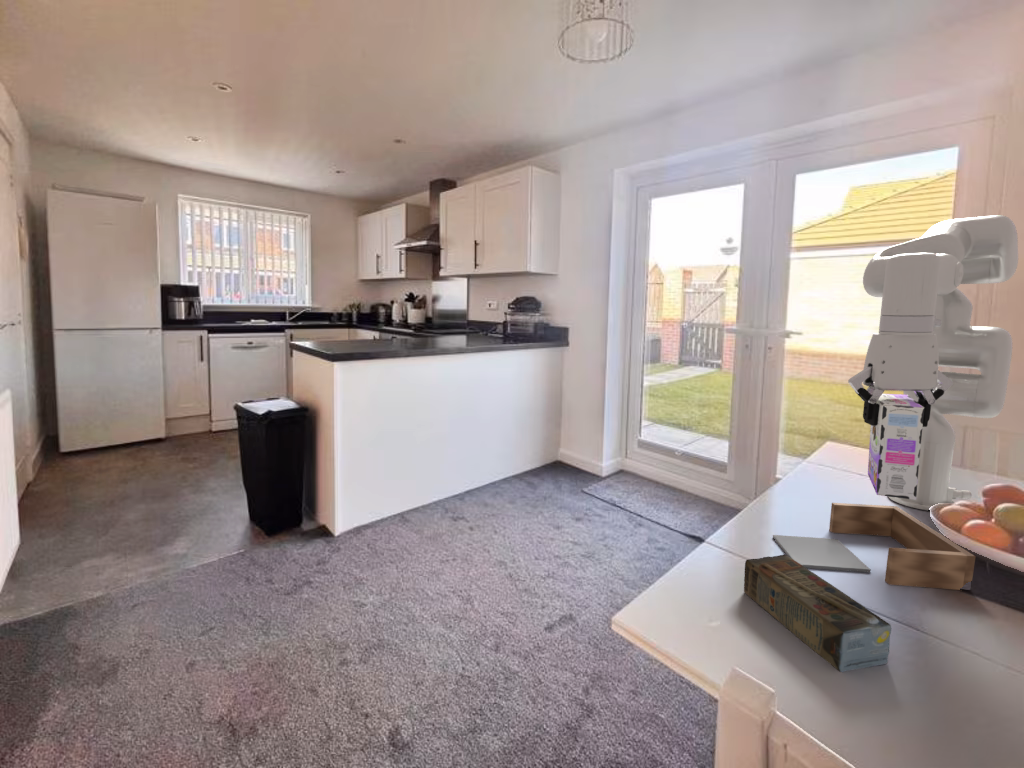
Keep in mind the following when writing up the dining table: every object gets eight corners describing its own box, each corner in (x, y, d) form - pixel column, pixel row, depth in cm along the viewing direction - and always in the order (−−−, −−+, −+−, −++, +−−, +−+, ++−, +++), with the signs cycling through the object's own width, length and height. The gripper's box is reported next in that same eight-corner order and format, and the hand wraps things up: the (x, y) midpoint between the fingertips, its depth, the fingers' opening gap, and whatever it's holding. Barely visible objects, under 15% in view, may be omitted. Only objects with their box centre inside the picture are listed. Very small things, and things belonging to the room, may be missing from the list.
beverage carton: (838, 675, 63) (843, 627, 62) (739, 593, 82) (742, 555, 81) (890, 666, 65) (895, 619, 64) (781, 587, 84) (785, 550, 83)
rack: (893, 534, 103) (896, 506, 103) (970, 590, 82) (975, 556, 82) (829, 530, 105) (831, 502, 104) (888, 584, 84) (892, 550, 83)
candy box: (917, 501, 86) (925, 406, 83) (875, 496, 88) (882, 404, 86) (903, 476, 97) (909, 393, 95) (866, 473, 100) (871, 391, 98)
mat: (837, 541, 100) (837, 539, 100) (870, 572, 88) (870, 569, 88) (772, 537, 102) (773, 534, 101) (796, 567, 90) (797, 564, 90)
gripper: (946, 324, 90) (934, 420, 93) (841, 325, 93) (832, 418, 96) (977, 326, 83) (963, 430, 86) (862, 327, 86) (853, 428, 89)
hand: (894, 423), depth 91 cm, fingers closed on candy box, 7 cm apart
